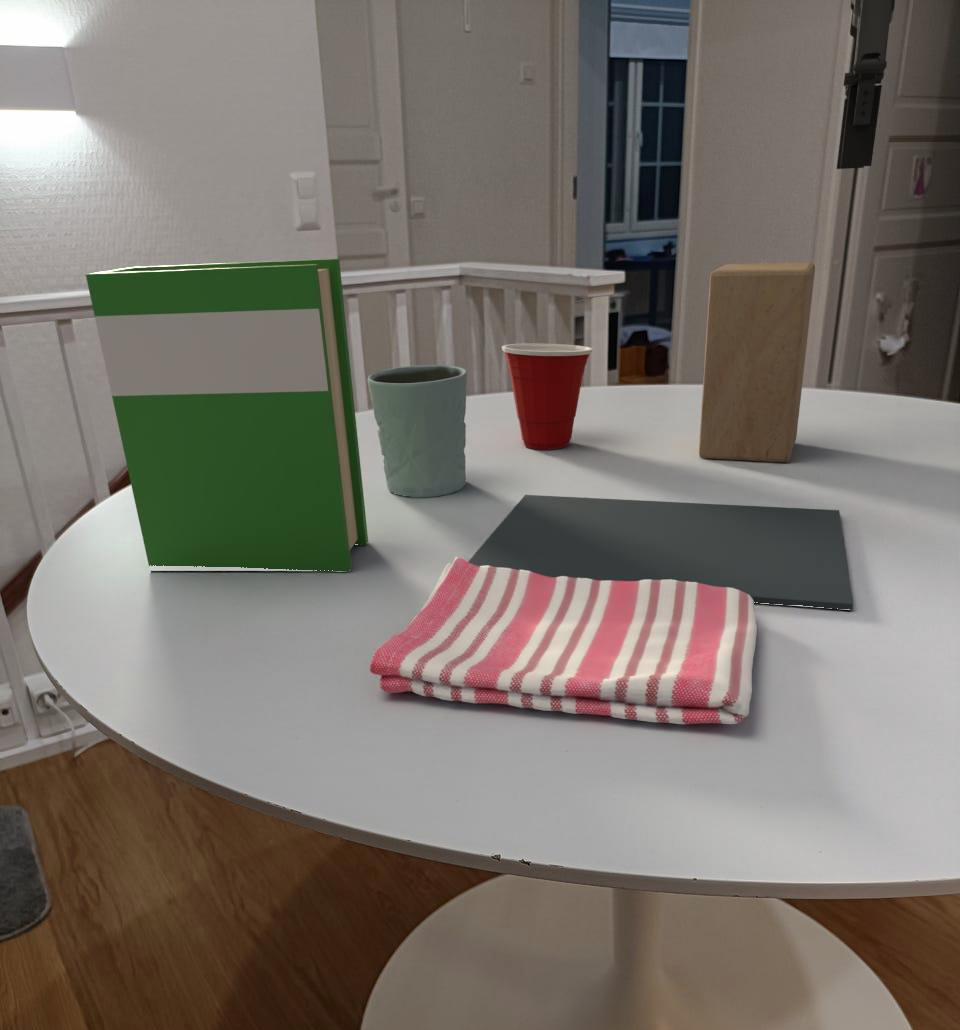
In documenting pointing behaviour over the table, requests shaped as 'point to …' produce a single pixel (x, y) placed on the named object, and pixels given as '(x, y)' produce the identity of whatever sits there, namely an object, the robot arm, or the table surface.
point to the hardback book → (235, 411)
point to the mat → (679, 546)
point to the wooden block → (755, 360)
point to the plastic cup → (546, 390)
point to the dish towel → (578, 646)
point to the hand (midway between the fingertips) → (852, 168)
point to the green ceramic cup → (421, 428)
